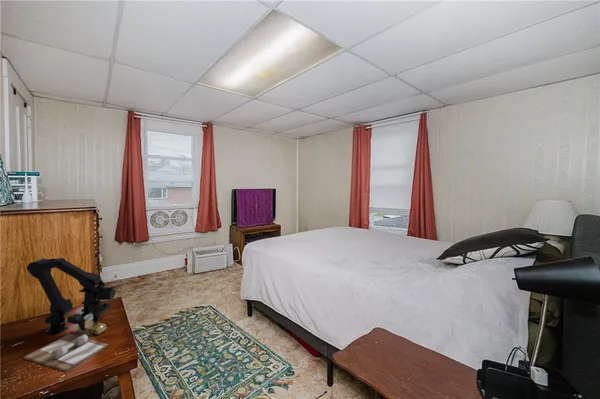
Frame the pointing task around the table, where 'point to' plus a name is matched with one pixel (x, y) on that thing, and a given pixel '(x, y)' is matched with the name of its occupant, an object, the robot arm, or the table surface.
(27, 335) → the table surface
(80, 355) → the hinge base
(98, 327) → the perfume bottle
